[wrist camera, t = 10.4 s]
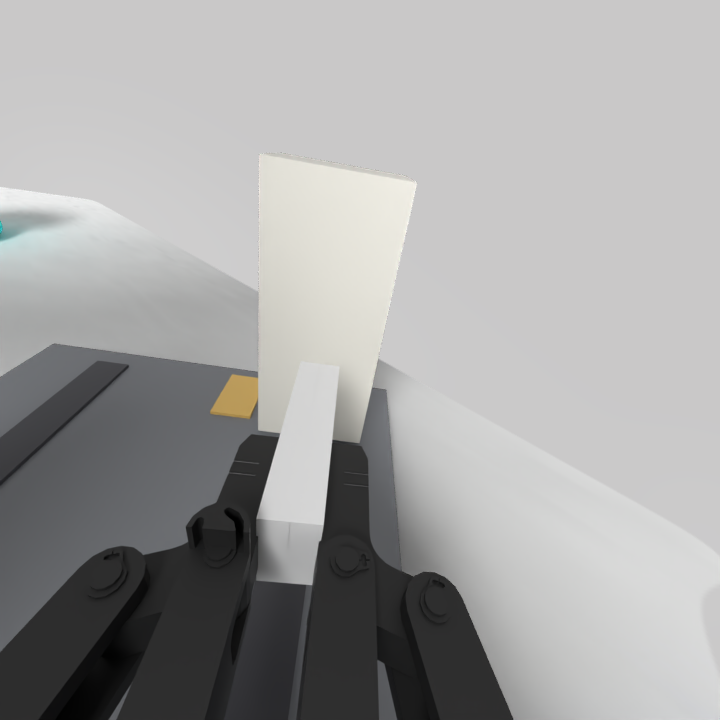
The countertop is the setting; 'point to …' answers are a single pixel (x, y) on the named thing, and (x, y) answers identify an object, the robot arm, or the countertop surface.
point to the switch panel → (152, 492)
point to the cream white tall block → (325, 278)
